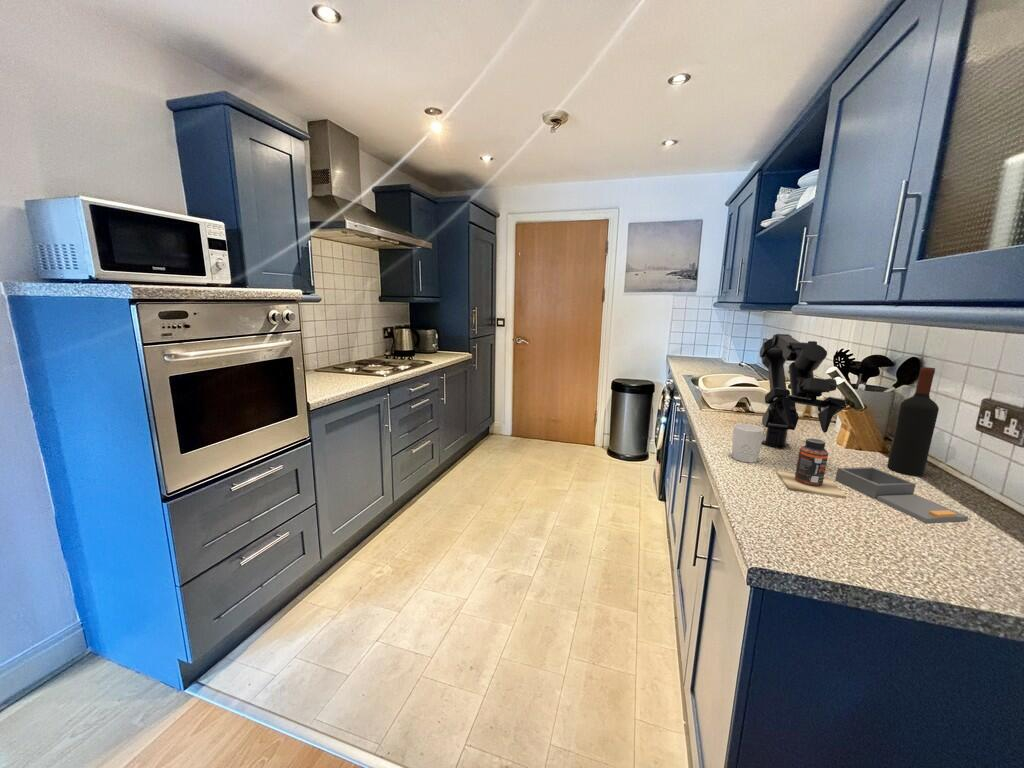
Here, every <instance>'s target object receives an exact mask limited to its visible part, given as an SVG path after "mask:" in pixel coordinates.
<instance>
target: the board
mask: <svg viewBox="0 0 1024 768" xmlns="http://www.w3.org/2000/svg"><path fill="white" fill-rule="evenodd" d="M775 473H776V475H777V476H778V477H779V479H780V480H781V482H782V483H783V484H784V486H785V488H786V489H787V491H793V492H800V493H806V494H813V495H814V494H815V495H821V496H826V497H834V498H835V497H836V498H840V499H847V495H846V494H845V493H844V492H843V491H842V490H841V489H840V488H839V487H838V486H837V485H836V484H835V483H834V482H833V481H832V480H831V479H830V478H829V477H828V476H824V479H823V483H822V485H819V486H812V485H807V484H804V483H801V482H799V481H798V480H796V478H795V473H796V472H793V471H786V470H778V469H775Z"/></svg>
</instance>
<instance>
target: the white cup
mask: <svg viewBox="0 0 1024 768" xmlns="http://www.w3.org/2000/svg"><path fill="white" fill-rule="evenodd" d="M732 432H733V433H732V445H731V446H732V447H731V448H732V449H731V451H732V452H731V457H732V458H733V459H734V460H736V461H738V460H739V461H738V462H742V463H747V462H749V464H750V463H751V464H752V463H753V464H754V463H757V462H758V460H759V454H760V451H761V447H762V445H763V444H762V441H763V437H764V432H765V428H764V427H762V426H759V425H755V424H750V423H735V424H733V431H732Z"/></svg>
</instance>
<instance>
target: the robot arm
mask: <svg viewBox="0 0 1024 768" xmlns="http://www.w3.org/2000/svg"><path fill="white" fill-rule="evenodd" d="M761 345H762V346H761V347H760V349H759V357H760V359H761V363H762V365H763V366H764V367H766V368H767V371H768V379H769V380H768V381H769V390H770V391H769V392H767V393H766V394H765V396H764V403H765V404H766V405H768V406H767V409H766V411H765V412H764V414H763V416H762V417H761V425H763V428H766V435H765V440H762V444H761V445H765V444H766V445H765V446H769V445H770V447H773V448H777V449H785V448H787V447H789V446H790V443H787V438H788V431H789V430H792V431H795V430H796V428H797V425H798V421H799V418H800V417H799V413H798V412H797V409H796V408H797V407H796V404H799V405H805V406H811V407H815V408H817V411H818V412H819V413H817V417H818V420H819V424H820V428H821V430H822V433H824V434H825V433H827V432H828V430H829V428H830V424H831V421H832V419H833V417H834V416H835V415H838V413H840V412H842V411H844V410H845V409H847V408H848V407H847V402H846V400H845V399H843V398H839V397H833V396H828V397H827V398H825V399H824V400H822V399H817V398H820V397H822V395H823V394H824V393H830V392H834V391H837V386H838V383H837V381H836V380H837V379H835V378H821V377H820V378H818V377H815V376H814V371H815V370H817V369H818V368H819V367H820V365H822V363H823V362H824V361H825V359H826V358H827V355H828V350H826V349H825V348H824V347H823V346H822V345H819V344H818V341H815V340H814V341H813V340H812V341H811V340H809V341H808V342H801V341H799V340H797V339H795V338H794V337H793V336H792V335H791V334H789V333H788V334H787V333H786V334H785V333H784V334H783V333H782V334H781V333H776V334H773V335H772V337H771V338H769V339H768V340H766V341H764V342H763V343H762V344H761ZM786 362H791V363H790V364H789V366H788V372H787V373H788V374H789V384H788V385H787V381H786V374H785V366H784V365H785V363H786Z"/></svg>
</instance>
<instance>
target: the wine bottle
mask: <svg viewBox="0 0 1024 768" xmlns="http://www.w3.org/2000/svg"><path fill="white" fill-rule="evenodd" d="M935 372H936V368H935V367H929V366H921V367H920V370H919V375H918V380H917V384H916V388H915V393H914V394H913V395H912V396H910V397H908V398H905V399H904V400H903V401H902V402H901V403H900V405H899V410H898V415H897V420H896V424H895V429H894V433H893V438H892V442H891V447H890V452H889V455H888V461H887V465H886V468H887V467H888V468H889V469H890V470H889V469H888V468H887V469H888V470H889V471H891V470H892V471H891V472H894V471H895V472H894V473H897V474H900V473H901V475H904V474H905V476H909V475H910V477H922V476H924V475H925V474H924V473H925V471H926V466H927V462H928V461H927V460H928V457H929V454H930V453H929V452H930V448H931V444H932V439H933V436H934V433H935V428H936V422H937V419H938V415H939V408H940V407H939V406H938V404H937V402H935V401H934V400H933V399H931V397H930V392H931V389H932V384H933V380H934V376H935Z"/></svg>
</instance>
